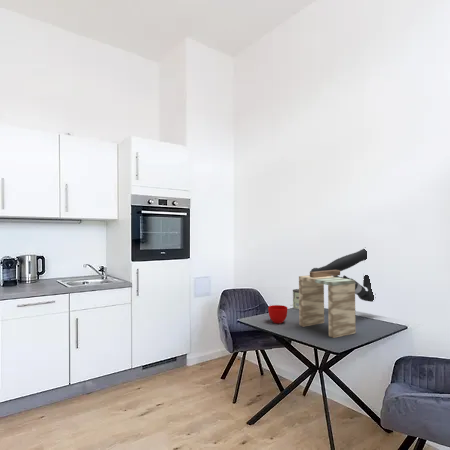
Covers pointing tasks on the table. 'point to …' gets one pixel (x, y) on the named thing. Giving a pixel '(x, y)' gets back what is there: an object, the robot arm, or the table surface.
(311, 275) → the batten
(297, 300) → the coffee can
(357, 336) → the table surface
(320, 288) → the bench
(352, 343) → the table surface
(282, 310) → the ceramic cup
